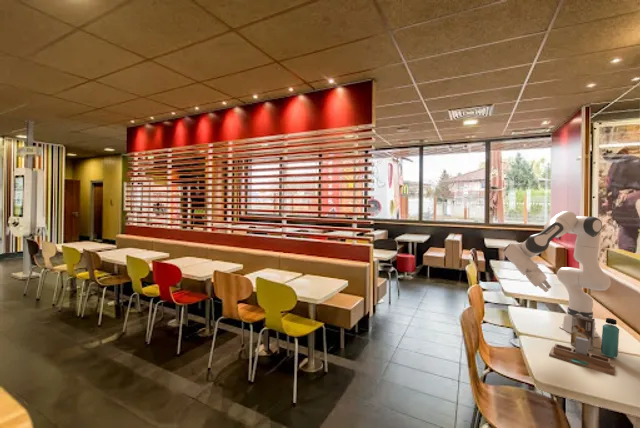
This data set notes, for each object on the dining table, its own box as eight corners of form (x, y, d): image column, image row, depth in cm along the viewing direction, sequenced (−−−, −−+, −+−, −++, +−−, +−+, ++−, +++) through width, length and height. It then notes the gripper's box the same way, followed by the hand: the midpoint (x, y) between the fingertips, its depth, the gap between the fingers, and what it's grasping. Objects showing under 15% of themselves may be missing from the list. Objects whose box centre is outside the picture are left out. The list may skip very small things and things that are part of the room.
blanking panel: (575, 355, 156) (576, 336, 156) (586, 359, 153) (588, 339, 153) (574, 357, 154) (576, 338, 154) (586, 361, 151) (587, 341, 151)
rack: (552, 348, 166) (553, 340, 166) (613, 365, 150) (614, 357, 149) (548, 356, 157) (549, 348, 157) (613, 375, 140) (614, 367, 140)
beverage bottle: (621, 361, 154) (624, 322, 153) (605, 359, 156) (608, 320, 155) (611, 355, 161) (614, 317, 160) (596, 353, 162) (599, 316, 161)
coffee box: (593, 347, 169) (595, 318, 168) (591, 351, 165) (593, 321, 164) (572, 341, 176) (574, 313, 175) (569, 344, 171) (571, 316, 171)
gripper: (529, 267, 164) (551, 290, 158) (536, 263, 179) (556, 283, 173) (519, 274, 168) (540, 296, 161) (527, 269, 182) (546, 289, 176)
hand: (548, 289), depth 167 cm, fingers open, 8 cm apart
